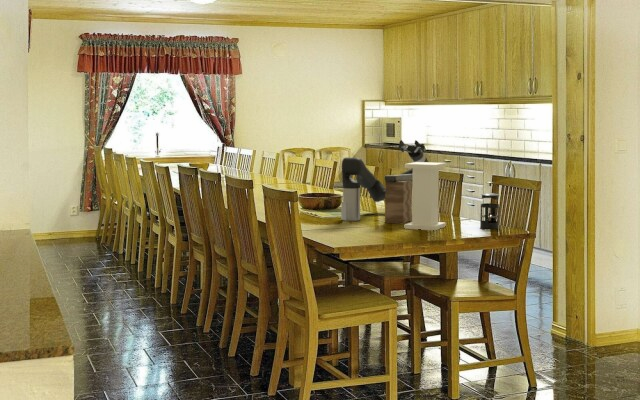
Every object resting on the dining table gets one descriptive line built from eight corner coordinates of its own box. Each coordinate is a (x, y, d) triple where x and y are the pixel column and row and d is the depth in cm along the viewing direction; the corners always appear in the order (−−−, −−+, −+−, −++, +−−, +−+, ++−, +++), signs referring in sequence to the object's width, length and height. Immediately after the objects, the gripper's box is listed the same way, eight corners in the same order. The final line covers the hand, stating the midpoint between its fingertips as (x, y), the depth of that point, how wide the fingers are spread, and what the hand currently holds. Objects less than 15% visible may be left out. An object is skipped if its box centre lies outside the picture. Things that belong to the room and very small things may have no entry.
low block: (403, 223, 430) (403, 182, 428) (385, 222, 435) (385, 181, 433) (411, 220, 441) (411, 180, 439) (393, 219, 446) (394, 179, 443)
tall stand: (434, 230, 406) (435, 164, 402) (404, 228, 413) (404, 163, 410) (445, 226, 420) (446, 162, 416) (415, 224, 427) (416, 161, 424)
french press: (495, 230, 406) (495, 183, 404) (476, 229, 411) (477, 182, 408) (502, 227, 416) (503, 181, 414) (484, 226, 421) (485, 180, 418)
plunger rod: (390, 182, 427) (390, 176, 427) (382, 181, 432) (382, 175, 431) (425, 179, 445) (425, 173, 444) (416, 178, 449) (416, 173, 449)
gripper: (406, 149, 473) (397, 135, 460) (430, 149, 467) (421, 135, 453) (404, 160, 471) (394, 147, 457) (427, 161, 464) (419, 148, 451)
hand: (408, 141), depth 455 cm, fingers open, 8 cm apart
